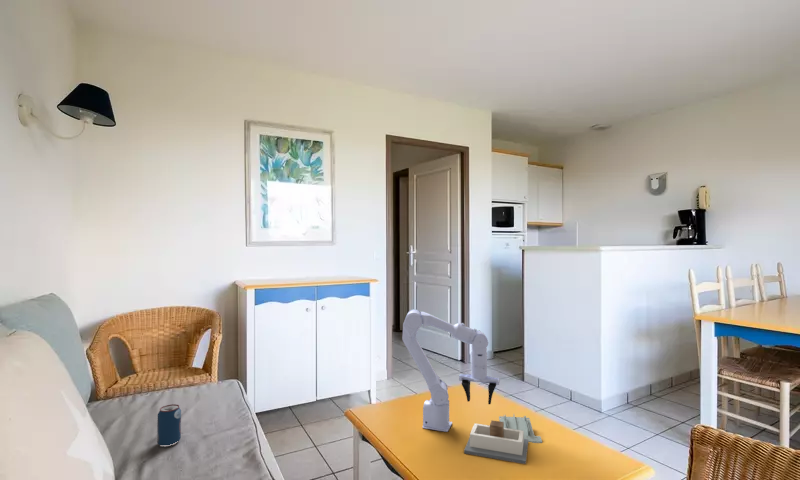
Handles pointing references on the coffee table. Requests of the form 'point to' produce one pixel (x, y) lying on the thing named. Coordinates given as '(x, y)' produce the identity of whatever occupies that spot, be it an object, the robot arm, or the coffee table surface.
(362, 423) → the coffee table surface
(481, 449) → the well
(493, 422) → the walnut block
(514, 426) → the metal bracket
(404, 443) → the coffee table surface
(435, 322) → the robot arm
